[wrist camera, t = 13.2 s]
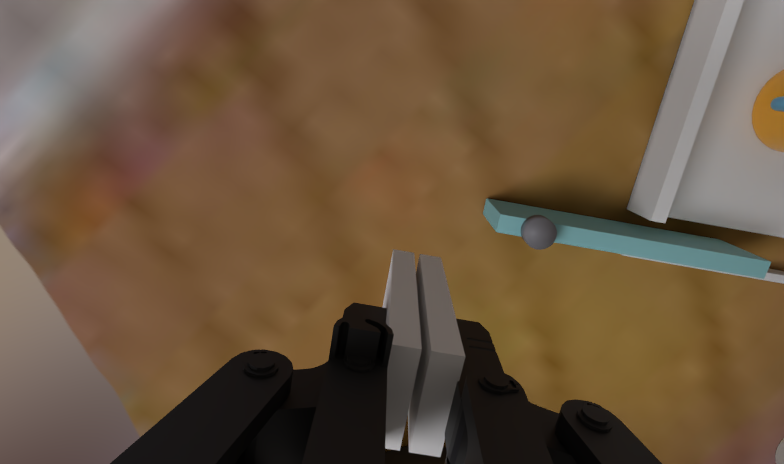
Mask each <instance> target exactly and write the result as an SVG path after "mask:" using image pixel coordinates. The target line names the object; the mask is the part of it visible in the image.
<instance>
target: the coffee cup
mask: <svg viewBox="0 0 784 464" xmlns="http://www.w3.org/2000/svg"><path fill="white" fill-rule="evenodd" d="M775 460H776V464H784V438H783V440H782V441H781V442H780V444H779V446H778V448H777V450H776V455H775Z"/></svg>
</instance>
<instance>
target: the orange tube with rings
mask: <svg viewBox="0 0 784 464" xmlns="http://www.w3.org/2000/svg"><path fill="white" fill-rule="evenodd" d="M752 125H753V129H754V132H755V134H756V136H757V137H758V138H759V140H760V141H761V142H762V143H763V144H765V145H766V146H767V147H769V148H771V149H773V150H775V151H779V152H784V69H783V70H782V71H780V72H779V73H777V74H775V75H774V76H773V77H772V78H771V79H770V80H768V81H767V83H766V84H765V85H764V86H763V87H762V89H761V90H760V92H759V94H758V95H757V97H756V100H755V102H754V105H753V110H752Z"/></svg>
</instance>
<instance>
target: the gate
mask: <svg viewBox="0 0 784 464" xmlns="http://www.w3.org/2000/svg"><path fill="white" fill-rule="evenodd" d="M483 215H484V216H485V217H486V219H487V220H488V221H489V223H490V224H491V226H492V227H493V228H494V230H495V231H496V232H499V233H504V234H510V235H516V236H522V238H523V239H524V240H525V242H526V243H527V244H528V245H529V246H530V247H532V248H534V249H545V248H548V247H549V246H551V245H552V244H553V243H554V242H556V243H562V244H567V245H573V246H579V247H585V248H590V249H596V250H602V251H607V252H613V253H619V254H625V255H630V256H636V257H642V258H647V259H653V260H659V261H665V262H670V263H676V264H682V265H688V266H693V267H699V268H705V269H710V270H716V271H722V272H728V273H733V274H739V275H745V276H750V277H756V278H762V279H764V278H765V276H766V273H767V271H768V269H769V266H770V264H771V262H770V261H768V260H766V259H763V258H761V257H759V256H757V255H754V254H752V253H750V252H747V251H745V250H743V249H741V248H738V247H736V246H734V245H731V244H729V243H727V242H724V241H722V240H720V239H714V238H709V237H703V236H697V235H692V234H686V233H680V232H675V231H669V230H663V229H658V228H652V227H646V226H641V225H635V224H629V223H624V222H618V221H612V220H607V219H601V218H595V217H590V216H584V215H578V214H573V213H567V212H561V211H556V210H550V209H545V208H539V207H533V206H528V205H522V204H516V203H511V202H505V201H499V200H494V199H488V198H487V199H486V203H485V207H484V211H483Z"/></svg>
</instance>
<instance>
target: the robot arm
mask: <svg viewBox="0 0 784 464" xmlns="http://www.w3.org/2000/svg"><path fill="white" fill-rule="evenodd" d="M407 415H408V440H409V446H407V447H402V448H401V443H402V438H403V434H404V429H405V425H406V420H407ZM444 441H445V442H446V448H444V447H443V445H444ZM385 449H391V451H388V452H386V453H385ZM110 464H662V463H661V462H660V461H659V460H658V459H657V458H656V457H655V456H654V455H653V454H652V453H651V452H650V451H649V450H648V449H647V448H646V447H645V446H644V444H643V443H642V442H641V441H640V440H639V439H638V438H637V437H636V436H635V435H634V434H633V433H632V432H631V431H630V430H629V429H628V428H627V427H626V426H625V425H624V424H623V423H622V422H621V421H620V420H619V419H618V418H617V417H616V416H615V415H613V414H612V413H611V412H609V411H608V410H606V409H604V408H602V407H601V406H600V405H597V404H595V403H594V404H593V403H592V402H588V401H582V400H569V401H566V402H565V403H564V404H563V405H562V407H561V410H560V413H559V414H558V413H555V412H553V411H550V410H547V409H545V408H542V407H539V406H537V405H535V404H532V403H530V402H529V401H528V399H527V396H526V394H525V392H524V389H523V388H522V387H521V385H520V384H519V383H518V382H517V381H516V380H515V379H513V378H512V377H511V376H509V375H507V374H505V373H504V371H503V369H502V366H501V363H500V361H499V358H498V355H497V353H496V352H495V347H494V345H493V344H492V339H491V337H490V334H489V332H488V331H487V330H486V329H485V328H484V327H483V326H482V325H481V324H480V323H479V322H473V321H467V320H461V319H456V317H455V313H454V309H453V305H452V301H451V296H450V292H449V288H448V284H447V280H446V276H445V272H444V268H443V264H442V260H441V258H440V257H434V256H428V255H423V254H420V257H419V262H418V266H417V271H416V270H415V258H414V253H411V252H405V251H399V250H394V249H393V253H392V259H391V264H390V270H389V275H388V280H387V286H386V291H385V297H384V302H383V307H376V306H371V305H365V304H359V303H353V304H351V305H350V306H349V307H347V308H346V309H345V311H344V314H343V318H341V319H339V320H337V322H336V323H335V325H334V328H333V335H332V341H331V348H330V354H329V360H328V361H327V362H326V363H325V364H323V365H321V366H318V367H315V368H310V369H300V370H293V366H292V362H291V361H290V360H289V359H288V358H287V357H286V356H284V355H282V354H280V353H278V352H274V351H269V350H251V351H247V352H243V353H240V354H239V355H237V356H235V357H234V358H232V359H231V360H230V361H229V362H227V363H226V364H225V365H224V366H223V367H222V368H220V369H219V370H218V371H217V372H216V373H215V374H213V375H212V376H211V377H210V378H209V379H208V380H206V381H205V382H204V383H203V384H202V385H201V386H199V387H198V388H197V389H196V390H195V391H194V392H193V393H191V394H190V395H189V396H188V397H187V398H186V399H184V400H183V401H182V402H181V403H180V404H179V405H177V406H176V407H175V408H174V409H173V410H172V411H170V412H169V413H168V414H167V415H166V416H165V417H164V418H162V419H161V420H160V421H159V422H158V423H157V424H155V425H154V426H153V427H152V428H151V429H150V430H148V431H147V432H146V433H145V434H144V435H143V436H141V437H140V438H139V439H138V440H137V441H136V442H135V443H133V444H132V445H131V446H130V447H129V448H128V449H126V450H125V451H124V452H123V453H122V454H121V455H119V456H118V457H117V458H116V459H115V460H114V461H112V463H110Z"/></svg>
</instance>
